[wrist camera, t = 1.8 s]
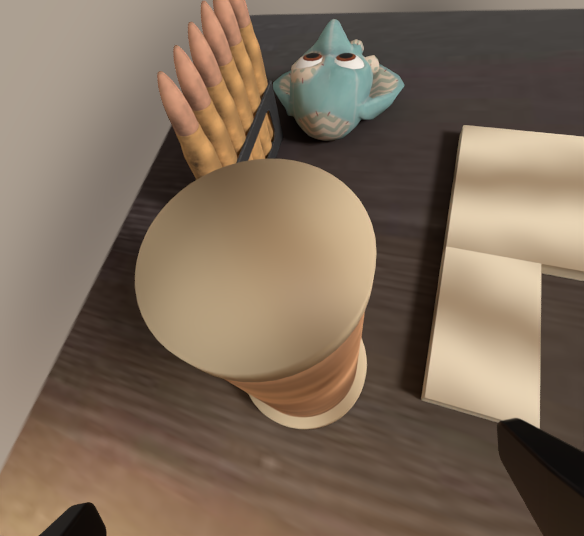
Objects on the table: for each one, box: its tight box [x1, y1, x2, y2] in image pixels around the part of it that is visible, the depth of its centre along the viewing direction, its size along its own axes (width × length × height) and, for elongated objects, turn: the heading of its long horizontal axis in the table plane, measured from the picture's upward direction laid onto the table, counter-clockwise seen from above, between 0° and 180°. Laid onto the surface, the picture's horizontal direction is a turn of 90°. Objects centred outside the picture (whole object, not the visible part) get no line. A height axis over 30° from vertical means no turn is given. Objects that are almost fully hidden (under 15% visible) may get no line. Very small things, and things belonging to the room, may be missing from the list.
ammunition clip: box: [157, 0, 283, 180], centre depth 22 cm, size 11×2×12 cm, turn 166°
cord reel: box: [135, 159, 376, 430], centre depth 14 cm, size 7×7×13 cm
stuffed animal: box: [273, 19, 404, 141], centre depth 27 cm, size 11×7×12 cm
